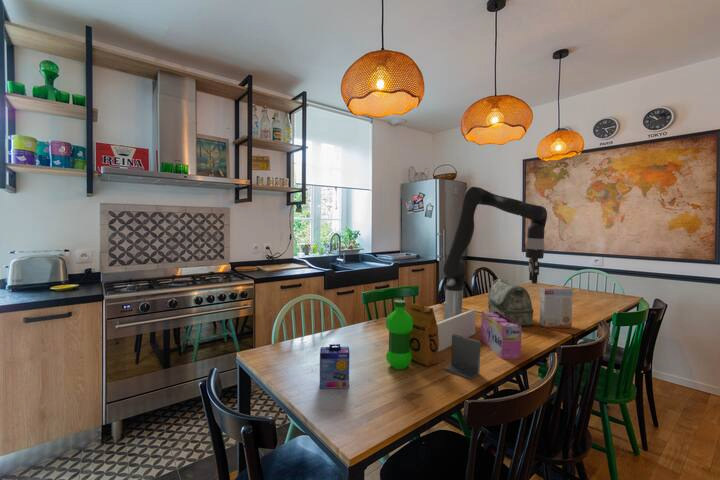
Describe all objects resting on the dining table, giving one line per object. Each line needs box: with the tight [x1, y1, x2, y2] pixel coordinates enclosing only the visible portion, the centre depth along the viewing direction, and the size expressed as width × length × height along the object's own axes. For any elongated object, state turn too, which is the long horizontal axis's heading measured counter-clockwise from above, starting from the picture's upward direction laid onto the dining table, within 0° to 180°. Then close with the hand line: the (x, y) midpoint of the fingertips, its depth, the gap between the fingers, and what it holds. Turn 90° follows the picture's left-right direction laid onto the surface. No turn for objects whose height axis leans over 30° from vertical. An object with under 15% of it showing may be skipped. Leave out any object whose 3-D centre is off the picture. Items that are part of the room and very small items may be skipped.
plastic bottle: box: [385, 299, 413, 370], centre depth 125 cm, size 10×10×25 cm
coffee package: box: [408, 302, 439, 367], centre depth 131 cm, size 10×12×22 cm
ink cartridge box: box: [319, 343, 350, 390], centre depth 111 cm, size 10×6×14 cm, turn 95°
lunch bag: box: [487, 278, 534, 327], centre depth 188 cm, size 26×18×22 cm
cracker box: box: [539, 286, 574, 329], centre depth 176 cm, size 14×6×21 cm, turn 84°
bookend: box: [443, 334, 481, 380], centre depth 121 cm, size 10×6×12 cm, turn 45°
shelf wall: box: [437, 308, 477, 353], centre depth 150 cm, size 2×40×12 cm, turn 135°
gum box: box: [480, 310, 523, 360], centre depth 145 cm, size 24×8×14 cm, turn 2°
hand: (532, 281), depth 158 cm, fingers open, 8 cm apart
